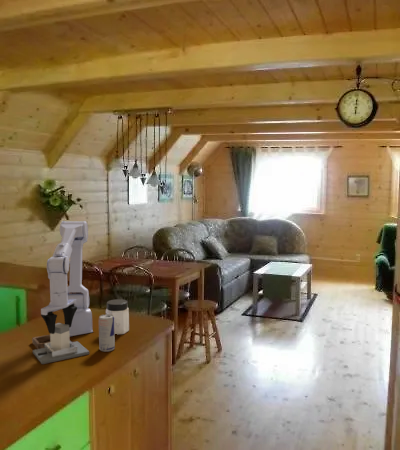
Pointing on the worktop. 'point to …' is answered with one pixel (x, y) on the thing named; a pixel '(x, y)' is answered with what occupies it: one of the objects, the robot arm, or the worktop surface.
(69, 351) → the socket board
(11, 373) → the worktop surface
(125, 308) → the jar
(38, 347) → the brown square tray
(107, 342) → the energy drink
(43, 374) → the worktop surface
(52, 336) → the plug
